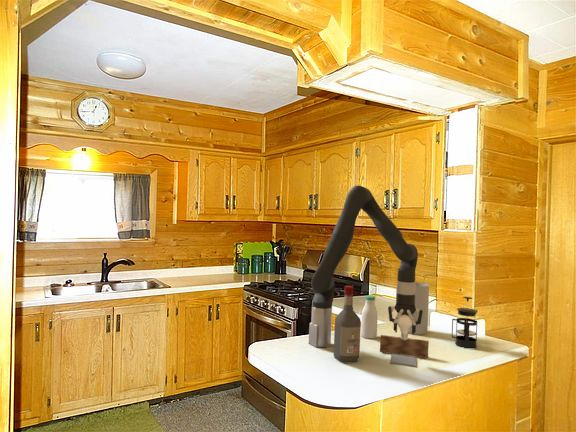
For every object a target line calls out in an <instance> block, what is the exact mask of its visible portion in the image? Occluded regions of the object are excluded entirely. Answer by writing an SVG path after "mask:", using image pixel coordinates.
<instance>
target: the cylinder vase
mask: <svg viewBox="0 0 576 432" xmlns="http://www.w3.org/2000/svg"><path fill="white" fill-rule="evenodd" d="M415 291H416V292H415V307H416V308H417V309H422V310H423V313H422V318H421V324H417V325H416V332H415V333H414V334H412V326H411V328H410V329H409V332H408V335H409V334H411V335H416V336H421V335H422V336H423V335H427V333H428V331H429V329H428V326H429V325H428V323H429V302H430V301H429V300H430V285H429V283H426V282H425V283H424V282H416V281H415ZM418 315H419V314H417V311H415V312H414V314H413V317H414V319H415V321H418Z"/></svg>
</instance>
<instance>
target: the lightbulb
mask: <svg viewBox="0 0 576 432" xmlns="http://www.w3.org/2000/svg"><path fill="white" fill-rule="evenodd" d="M412 324H413V323H412V320H411V319H410V317H409V316H408V315H401V316H400V318H399V319H398V320H397V327H399V330H400V337H401V339H402V340H404V341H405V340H407V339H408V338H409V337H408V335H409V333H408V332H409V329H410V328H411V326H412Z"/></svg>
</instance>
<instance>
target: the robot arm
mask: <svg viewBox="0 0 576 432" xmlns="http://www.w3.org/2000/svg"><path fill="white" fill-rule="evenodd" d="M361 210H362V211H363V212H364V213H366V214H367V215H368V217H369V218H370V220H371V221H372V223H373V225H374V226H375V228H376V229H377V231H378V232H379V234H380V235H381V237H382V238H383V239H384V240H385V241H386V242H387V243H388V245H389V246H390V249H391V250H392V252H393V253H394V255H395V256H396V258H397V259H398V260H400V265H399V267H398V269H397V282H396V288H395V291H396V292H395V293H396V294H395V295H396V297H395V305H394V306H391V305H389V306H388V308H387V311H388V319H389V322H391V323H393V331H394V332H395V333H398V324H397V320H398V319H399V318H400V316H401V315H408V316H409V317H410V319H411V320H412V323H413V324H412V334H411V335H415V334H414V333H415V332H416V325H417V324H421V318H422V313H423V310H422V309H417V308H416V307H415V292H416V291H415V282H416V268H417V263H418V259H419V257H418V256H419V253H418V249H417V246H415V245H414V244H412V243H407V240H405V239H404V237H403V233H402V232H401V231H400V229H399V228H398V227H397V225H395V224H394V222H393V221H392V219H390V218H389V217H388V215H387V214H386V213H385V212H384V211H383V209H382V208H381V206H380V205H379V203H378V202H377V200H376V199H375V197H374V195H373V193H372V192H371V190H370V189H368V188H367V187H365V186H364V185H363V186H362V185H354V186H352V187H351V188H350V189H349V191H348V193H347V195H346V198H345V200H344V205H343V209H342V210H341V213H340V216H339V217H338V220H337V222H336V225H335V227H334V228H333V231H332V234H331V235H330V237H329V240H328V242H327V245H326V248H325V250H324V253H323V256H322V259H321V261H320V263H319V264H318V267H317V268H316V270H315V272H314V273H313V275H312V277H311V280H310V285H311V289H312V290H313V291H314V295H313V298H312V300H311V319H310V321H311V322H309V324H308V325H309V327H308V344H309V345H311V346H313V347H315V348H328V347H330V346H331V345H332V344H331V343H332V317H333V316H332V315H333V302H334V298H335V278H334V274H335V271H336V268H337V267H338V265H339V263H340V262H341V261H342V260H343V258H344V256H345V255H346V254H347V251H348V250H349V248H350V245H351V243H352V241H353V239H354V235H355V228H356V226H355V225H356V221H357V218H358V215H359V213H360V212H361ZM394 310H395V311H396V316H395V317H394V318H393V312H394ZM415 311H417V314H419V315H418V321H415V319H414V317H413V314H414V312H415Z"/></svg>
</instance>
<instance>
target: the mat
mask: <svg viewBox="0 0 576 432" xmlns="http://www.w3.org/2000/svg"><path fill="white" fill-rule="evenodd" d="M390 354H391V355H390V360H389V363H390V365H398V366H406V367H412V368H417V358H416V356H409V355H401V354H394V353H390Z"/></svg>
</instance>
